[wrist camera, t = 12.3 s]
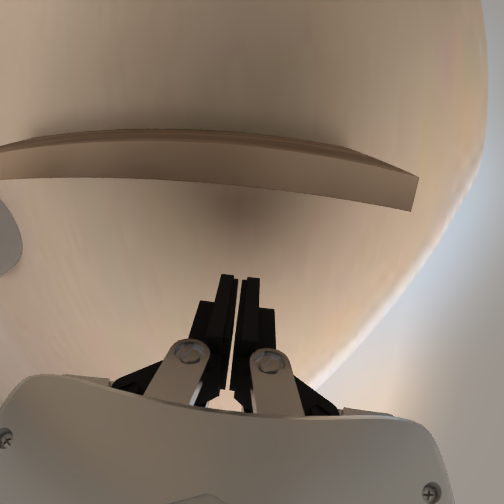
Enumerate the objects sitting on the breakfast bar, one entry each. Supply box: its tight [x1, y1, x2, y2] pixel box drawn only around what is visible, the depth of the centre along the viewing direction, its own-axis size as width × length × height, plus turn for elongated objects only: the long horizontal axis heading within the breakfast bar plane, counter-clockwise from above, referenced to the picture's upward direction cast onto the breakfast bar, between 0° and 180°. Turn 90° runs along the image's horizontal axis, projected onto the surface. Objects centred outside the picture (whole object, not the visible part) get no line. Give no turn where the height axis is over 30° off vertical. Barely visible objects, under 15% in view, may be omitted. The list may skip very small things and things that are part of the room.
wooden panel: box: [0, 129, 419, 212], centre depth 15 cm, size 2×28×11 cm, turn 84°
